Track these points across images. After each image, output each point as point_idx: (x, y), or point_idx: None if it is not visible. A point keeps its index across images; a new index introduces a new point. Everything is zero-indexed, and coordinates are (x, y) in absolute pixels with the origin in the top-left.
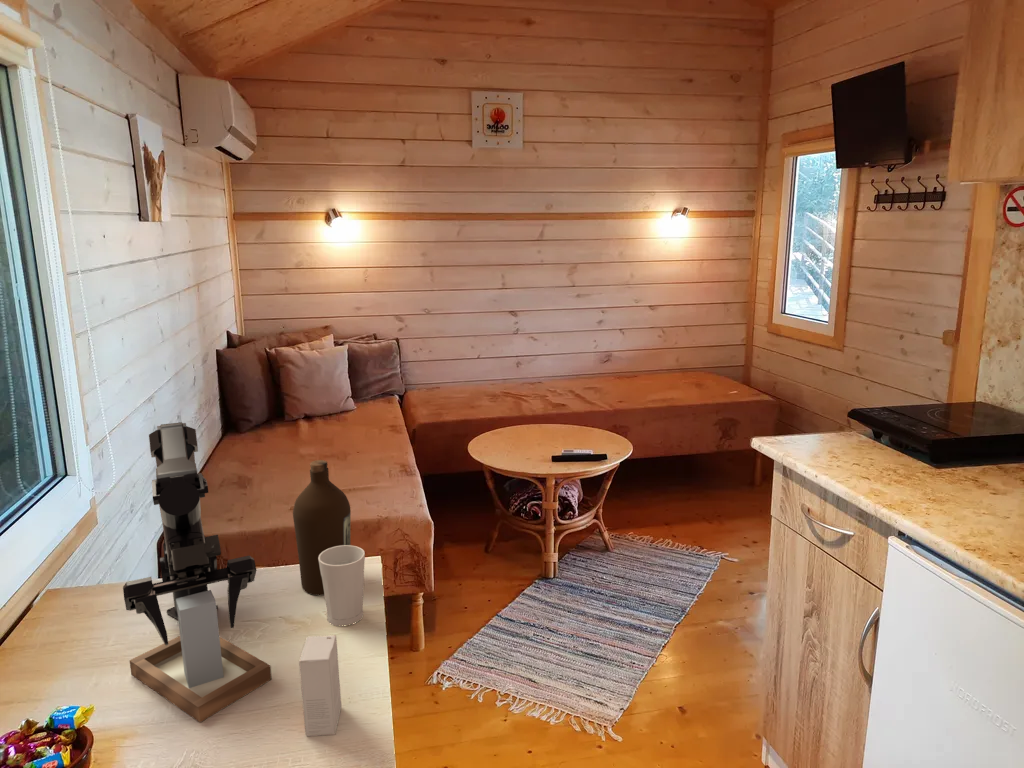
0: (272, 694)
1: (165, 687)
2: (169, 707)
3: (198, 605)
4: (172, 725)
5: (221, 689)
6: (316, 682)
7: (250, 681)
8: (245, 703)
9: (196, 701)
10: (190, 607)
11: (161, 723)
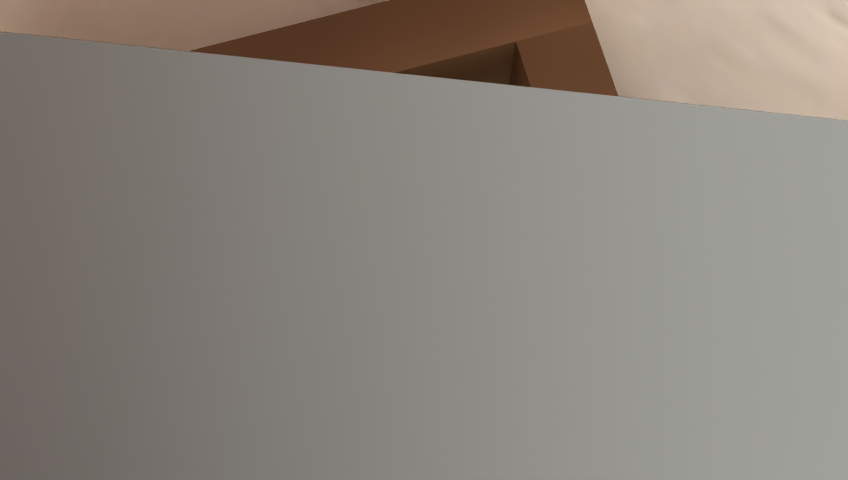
0: (103, 9)
1: None
2: None
3: (132, 68)
4: (701, 98)
5: (369, 48)
6: None
7: None
8: (267, 28)
9: (560, 23)
10: (435, 91)
11: None
